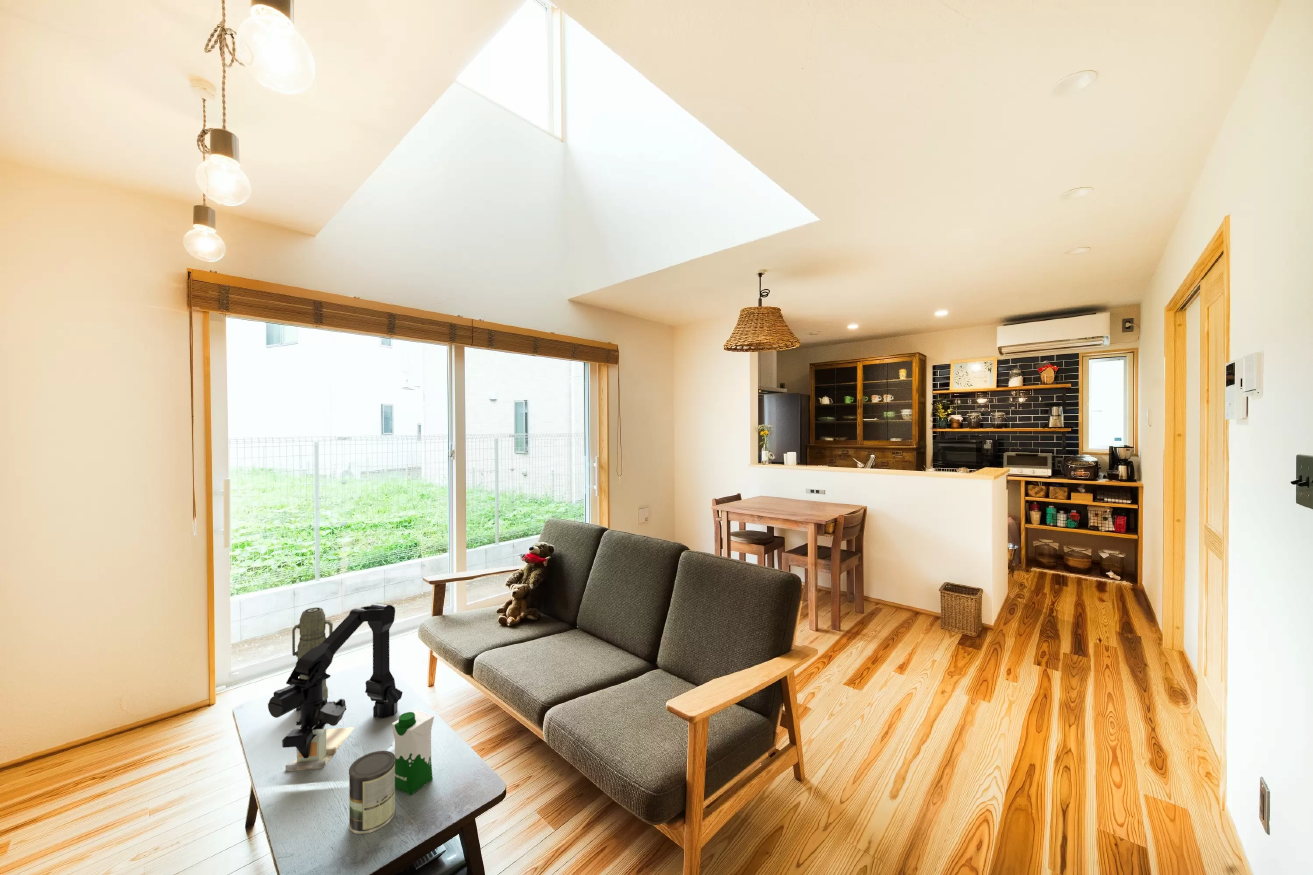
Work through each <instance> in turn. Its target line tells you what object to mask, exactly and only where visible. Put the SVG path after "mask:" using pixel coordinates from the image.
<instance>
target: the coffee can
mask: <svg viewBox="0 0 1313 875" xmlns="http://www.w3.org/2000/svg"><path fill="white" fill-rule="evenodd" d="M348 776H349V777H348V779H349V780H348V783H349V785H348V788H349V789H348V792H349V794H348V795H349V796H348V797H349V804H348V805H349V809H348V810H349V813H348V814H349V816H348V817H349V820H348V829H349V830H350V831H351V832H352V833H354V834H357V835H365V834H370V833H373V832H376V831H378V830H380V829H382V828H383V827H385V826H386V825H387V824H389V822H391V821H392V819H393V818H394V816H395V814H396V808H395V806H396V804H395V803H396V802H395V800H396V796H395V793H396V792H395V791H396V788H395V753H393V752H392V751H388V750H377V751H373V752H369V753H367V754H364V755H362V756H360V757H358V758H357V759H356V760H355V761H353V762H352V763H351V764H350V766H349V769H348Z"/></svg>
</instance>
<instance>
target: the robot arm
mask: <svg viewBox="0 0 1313 875" xmlns="http://www.w3.org/2000/svg"><path fill="white" fill-rule="evenodd" d="M395 616H396V607H395V606H393V605H392V604H387V603H381V602H375V603H372V604H371V605H367V606H362V607H354V608H352V609H351V610H350V611H349V613H348V615H347V616H346V617H345V618H344V620H342V621H341V622H340V624H338V625H337V627H336V628H334V629H333V632H332V633H331V634H330V635H328V636H327V637H326V639H325V640H324V641H323V642H322V643H321V644H320V645H319V646H317V647H315V648H313V649H311V650H309V651H308V652H307V653H306V654H304V655H303V656H302V657H301V658H300V659H299V660H298V659H297V661H296V662H295V666H294V668H293V669H292V672H291V673H290V675H289V677H288V679H287V680H286V683H285V684H286V685H288V686H285V687H283V688H281V689H277V690H275V691H274V692H273V696H272V697H271V698H269V700H268V701H269V702H268V703H267V709H268V711H269V714H270V715H271V716H272V717H273V718H275V719H277V718H280V717H282V716H284V715H286V714H287V713H290V712H291V711H293V710H295V712H299V719H297V720H296V722H295V725H296V726H300V727H299V728H292V730H291V731H289V733H287V734H286V735H285V737H283V739H282V740H281V747H282V748H283V749H284V748H296V750H297V749H298V751H299V752H300V753H301V755H302V756H303V757H304V758H308V757H309V754H310V747H311V741H312V740H313V738H314V737H315V736H316V735H317V734H314V735H313V730H315V729H325V728H326V727H325V726H326V725H330V726H332V727H335V726H337V725H338V724H339V723H340V721H341V720H343V716H344V715H345V712H346V711H347V705H346V700H345V699H344V698H339V699H338V700H337V701H335V700H334V701H328V698H327V699H326V698H323V681H324V680H325V679H326V680H327V679H330V678H331V674H329V673H327V670H328V669H329V667H330V665H331V664H332V662H333V659H334V656H335V654H336V653H337V652H338V650H339V649H341V647H342V646H343V645H344V644H345V643H346V641H348V640H349V638H351V637H352V635H353V634H354V633H355V632H356V631H357V630H358V628H360V627H361V626H362V624H363V623H364V622H367V624H368V626H369V629H370V630H371V631H372V674H371V676H370V678H369V679H368V680H366V681H365V691H364V692H365V694H366V695H367V697H369V698H370V701H371V702H374V705H373V708H372V717H373V718H378V719H387V718H390V717H394V716H395V715H396V713H397V712H398V705H399V704H398V702H399V701H400V700H401V699H402V696H403V691H402V690H400V689H398V688H397V687H396V680H395V676H393V674H392V673H391V670H390V629H391V628H392V626H393V624H394V622H395ZM325 671H326V673H325ZM299 676H305V677H309V678H308V679H306V680H305V679H301V678H299Z"/></svg>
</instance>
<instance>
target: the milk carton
mask: <svg viewBox="0 0 1313 875" xmlns="http://www.w3.org/2000/svg"><path fill="white" fill-rule="evenodd" d="M434 718H435V715H432V714H429V713H427V712H425V711H420V710H417V709H415V710H413V711H407V712H404V713H402V714H401V715H399V717H398V719H397V720H395V721H394V722H392V723H391V728H392V733H393V738H394V755H395V790H399V791H401V792H403V793H404V794H408V795H409V796H413V795H414V794H415V793H416V792H418V790H420V789H421V788H423V787H424V786H426V785H427V784H428V783H429V782H430V781H432V780H433V768H432V727H433V724H434Z"/></svg>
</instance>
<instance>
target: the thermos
mask: <svg viewBox="0 0 1313 875" xmlns="http://www.w3.org/2000/svg"><path fill="white" fill-rule="evenodd" d="M326 625H327V626H329V627H328V628H329V629H328V630H329V631H328V634H329V635H330V634H331V633H332V632H333V631H334V629H333V626H334V623H333V622H332V621H331V620H330V619H329V620H327V619H326V613H325V612H324V608H322V607H310V608H307V609H305V610H303V611H302V612H301V614H300V618H299V623H298V624H295V625H294V626H293V628H292V630H291V631H292V632H291V634H292V635H291V637H292V640H291V644H292V647H291V648H292V650H291V651H292V652H291V653H292V656H296V658H297V661H298V660H299V659H300V658H301V657H302V656H303V655H304V654H306V653H307V652H308V651H309V650H311V649H313V648H315V647H317V646H319V645H320V644H321V643H322V642H323V641H324V640H325V639H326V638H327V637H326ZM297 629H298V630H299V635H300V636H299V641H298V645H297V650H296V630H297ZM329 635H328V636H329ZM325 673H327V670H326V671H325ZM298 678H301V679H305V680H306V679H308V678H309V677H305V676H299V677H298ZM323 698H326V699H327V700H328V698H329V688H328V686H327V679H325V680H324V681H323Z"/></svg>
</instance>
